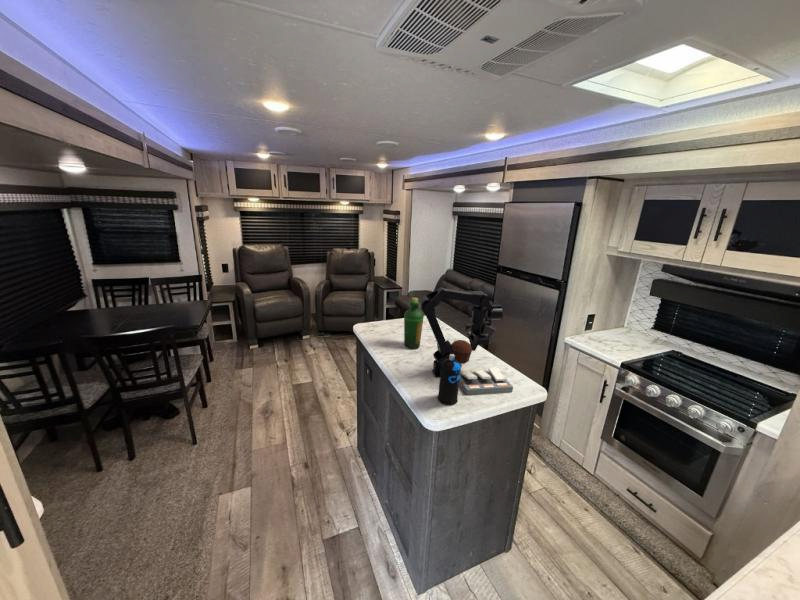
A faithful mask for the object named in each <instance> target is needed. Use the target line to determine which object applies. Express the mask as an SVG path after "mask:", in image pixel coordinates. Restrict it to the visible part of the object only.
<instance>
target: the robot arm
mask: <svg viewBox="0 0 800 600" xmlns="http://www.w3.org/2000/svg"><path fill="white" fill-rule="evenodd" d="M444 299H447V300H453V301H461V302H468V303H470V304H471V305H469V306H468V309H469V310H470V311H472V314H471V315H472V316H471V319H469V322H470V323H464V324H463V327H462V329H463V331H467V330H468V333H467V334H466V335H467V338H468V340H469V344H470V345H471V348H472V350H473V351H472V352H475V351H476V350H477V348H478V346H479V345H484V346H486V345H487V346H489V345H490V344H491V339H490V338H489V337H488V336H487V335H486V334H488V335H490V336H493V337H494V334H495V333H496V330H497V329H496V328H494V326H492V325H491V323H490V322H489V321H490V320H491V321H492V320H493V321H495V320H496V321H498V320H499V321H501V320H502V319H503V317H504V311H503V307H502V305H501V304H492V303H491V302H490V296H489V295H488V294H486V293H485V292H483V291H481V290H473V291H464V290H463V291H462V290H456V289H450V288H444V287H439V288H437V289H435V290H433V291H431V292H429V293H427V294H426V295H423V296H421V297H419V298H418V305H419V306H418V307H419V308H420V310H421V312H422V313H423V315H424V316H425V317H426V319H427V322H428V324H429V327H430V329H431V332H432V334H433V335H434V338H435V341H436V347H437V350H436V351H435V352H434V353H433V355H432V356H433V358H434V360H433V365H432V369H431V372H432V374H433V376H434V377H435V378H440V373H441V362H442V361H444V360H445V359H449V357H450V354H454V353H455V352H454V350H453V347H452V345H451V344H452V343H451V342H450V341H449V340H448V339H447V340H446V339H445V335H444V333H443V331H442V328H441V326H440V323H439V321H438V319H437V316H436V307H437V306H439V304H440V303H441V302H442V301H443V300H444ZM486 319H487V320H489V321H485V320H486Z"/></svg>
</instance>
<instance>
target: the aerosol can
mask: <svg viewBox="0 0 800 600" xmlns="http://www.w3.org/2000/svg"><path fill="white" fill-rule="evenodd" d="M454 358H455V355H454V354H450V357H449V359H445V360H444V361H442V362H441V373H440V377H439V384H438V393H437V394H438V395H437V400H438V402H439V403H440V404H442V405H445V406H454V405H455V404H456V405H457V403H458V402H459V400H458V397H459V396H458V395H459V388H460V387H459V386H460V384H459V380H460V372H461V369H462V363H459V362H458V361H457V360H455V359H454Z"/></svg>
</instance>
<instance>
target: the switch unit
mask: <svg viewBox="0 0 800 600" xmlns="http://www.w3.org/2000/svg"><path fill="white" fill-rule="evenodd" d="M483 371H484V372H486V373H487V374H489V375H490V376H491V379H482V378H481V377H479V376H478V375H477V374H475V371H470V372H471V373H472V374H474V375H476V376H477V379H467V378H465V377H464V376H463V375H461V371H460V380H459V386H460V387H461V389H462V390H463V392H464V393H465V396H470V395H474V396H475V395H485V394H486V395H487V394H489V395H490V394H502V393H512V392H513V390H514V386H513V385H512V384H511V383H510V382H509V381H508V380H507V379H506V378H505V381H496V380H495V379H494V377H493V376H492V374H491V373H490V371H489V370H483Z"/></svg>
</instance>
